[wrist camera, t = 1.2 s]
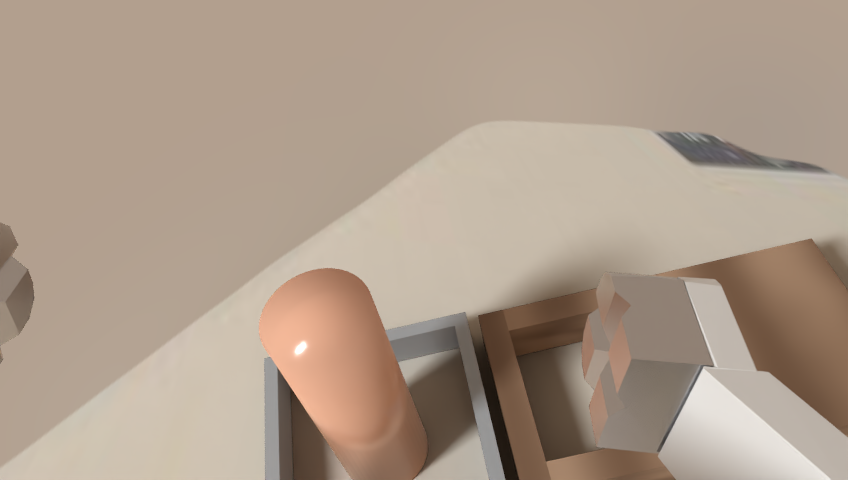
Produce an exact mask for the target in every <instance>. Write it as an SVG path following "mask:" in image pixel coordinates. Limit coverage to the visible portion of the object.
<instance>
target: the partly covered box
mask: <svg viewBox="0 0 848 480" xmlns="http://www.w3.org/2000/svg"><path fill="white" fill-rule="evenodd" d="M653 276H667V277H675V278H677V277H690V278H705V279H715V280H716V281H717V282H719V283H720V284H721V286H722V289H723V291H724V293H725V296H726V298H727V300H728V303H729V305H730V307H731V310H732V312H733V315H734V317H735V319H736V322H737V324H738V326H739V329H740V331H741V333H742V336H743V338H744V341H745V343H746V345H747V348H748V350H749V352H750V355H751V357H752V359H753V362H754V364H755V367H756V369H757V371H763V372H769V373H770V374H772V375H773V376H774V377H775V378H776V379H778V380H779V381H780V382H781V383H782V384H784V385H785V386H786V387H787V388H789V389H790V390H791V391H792V392H793V393H795V394H796V395H797V396H798V397H799V398H801V399H802V400H803V401H804V402H806V403H807V404H808V405H809V406H810V407H812V408H813V409H814V410H815V411H816V412H818V413H819V414H820V415H821V416H822V417H824V418H825V419H826V420H827V421H829V422H830V423H831V424H832V425H833V426H835V427H836V428H837V429H838V430H839V431H841V432H842V433H843V434H844V435H846V436H847V437H848V290H847V289H846V287H845V286H844V284H843V283H842V281H841V280H840V279H839V277H838V276H837V274H836V273H835V271H834V270H833V269H832V267H831V266H830V264H829V263H828V261H827V260H826V259H825V257H824V256H823V254H822V253H821V251H820V250H819V249H818V247H817V246H816V244H815V243H814V241H813V240H812V239H808V240H803V241H799V242H795V243H790V244H786V245H782V246H777V247H773V248H769V249H764V250H760V251H756V252H751V253H747V254H743V255H738V256H734V257H730V258H725V259H721V260H717V261H712V262H708V263H704V264H699V265H695V266H691V267H686V268H682V269H678V270H673V271H669V272H665V273H660V274H656V275H653ZM596 290H597V288H595V289H591V290H587V291H582V292H578V293H574V294H569V295H565V296H561V297H556V298H552V299H548V300H543V301H539V302H535V303H531V304H526V305H522V306H518V307H513V308H509V309H505V310H500V311H496V312H492V313H487V314H483V315H479V316H478V317H479V322H480V327H481V331H482V336H483V341H484V345H485V349H486V353H487V357H488V361H489V365H490V369H491V373H492V377H493V381H494V385H495V389H496V393H497V397H498V401H499V405H500V409H501V413H502V417H503V421H504V425H505V429H506V433H507V437H508V441H509V445H510V449H511V453H512V457H513V461H514V465H515V468H516V472H517V476H518V480H676V479H675V478H674V477H673V475H672V474H671V473H670V472H669V470H668V469H667V468H666V466H665V465H664V464H663V463H662V461H661V460H660V459H659V458H658V455H659V454H657V453H647V452H638V451H628V450H619V449H609V448H605V449H601V450H596V451H592V452H587V453H583V454H578V455H574V456H569V457H565V458H560V459H556V460H551V461H547V462H546V460H545V456H544V453H543V449H542V446H541V442H540V439H539V435H538V432H537V428H536V425H535V421H534V417H533V414H532V410H531V407H530V403H529V400H528V396H527V393H526V389H525V386H524V382H523V379H522V375H521V372H520V368H519V365H518V361H517V358H516V356H519V355H524V354H528V353H532V352H537V351H541V350H545V349H550V348H554V347H558V346H563V345H567V344H572V343H576V342H580V341H583V333H584V329H585V326H586V322H587V318H588V315H589V314H591V313H592V312H593V311H595V310H596V309H598V308H599V307H598V302H597V296H596Z"/></svg>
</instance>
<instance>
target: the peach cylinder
mask: <svg viewBox="0 0 848 480" xmlns="http://www.w3.org/2000/svg"><path fill="white" fill-rule="evenodd" d="M259 335H260V339H261V342H262V344H263V346H264V348H265V349H266V351H267V352H268V354H269V355H270V357H271V358H272V360H273V361H274V363H275V364H276V366H277V367H278V369H279V370H280V372H281V373H282V375H283V376H284V378H285V379H286V381H287V382H288V384H289V385H290V387H291V389H292V390H293V392H294V393H295V395H296V396H297V398H298V399H299V401H300V402H301V404H302V405H303V407H304V408H305V410H306V411H307V413H308V414H309V416H310V417H311V419H312V420H313V422H314V423H315V425H316V426H317V428H318V429H319V431H320V432H321V434H322V435H323V437H324V438H325V440H326V441H327V443H328V444H329V446H330V447H331V449H332V450H333V452H334V453H335V455H336V456H337V458H338V459H339V461H340V462H341V464H342V465H343V467H344V468H345V470H346V471H347V473H348V474H349V476H350V477H351V479H352V480H413V479H414V478H415V477H416V476H417V474H418V473H419V472H420V470H421V469H422V467H423V465H424V463H425V461H426V457H427V453H428V439H427V435H426V432H425V430H424V427H423V425H422V422H421V420H420V417H419V415H418V412H417V409H416V407H415V404H414V402H413V399H412V397H411V394H410V392H409V389H408V387H407V384H406V382H405V379H404V377H403V374H402V372H401V369H400V367H399V364H398V362H397V359H396V357H395V354H394V352H393V349H392V347H391V344H390V342H389V339H388V337H387V334H386V332H385V329H384V327H383V324H382V321H381V319H380V316H379V314H378V311H377V309H376V306H375V304H374V301H373V299H372V296H371V294H370V291H369V289H368V288H367V286H366V285H365V284H364V282H363V281H362V280H361V279H359V278H358V277H357V276H355V275H354V274H352V273H349V272H347V271H344V270H340V269H332V268H324V269H316V270H311V271H308V272H305V273H302V274H300V275H298V276H296V277H294V278H292V279H290V280H289V281H287V282H286V283H284V284H283V285H282V286H281V287H280V288H278V289H277V290H276V291H275V292H274V294H273V295H272V296H271V297H270V299H269V300H268V302H267V303H266V305H265V307H264V309H263V311H262V314H261V317H260V322H259Z"/></svg>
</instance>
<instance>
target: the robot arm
mask: <svg viewBox="0 0 848 480" xmlns="http://www.w3.org/2000/svg"><path fill="white" fill-rule="evenodd" d="M17 246H18V243H17V241H16V239H15V237H14V235H13V233H12V230H11V228H10V227H9V226H8V225H5V224H2V223H0V346H1V345H2V344H4V343H6V342H7V341H9V340H11V339H12V338H14V337H16V336H17V335H19V334H20V332H21V331H22V329H23V328H24V326H25V324H26V323H27V321H28V320H29V317H30V313H31V309H32V305H33V301H34V290H33V282H32V279H31V276H30V274H29V271H28V269H27V268H26V267H24V266H23V265H22V264H21V263H19V262H18V261H17V260H16V259H15V258H13V257H12V255H13V253H14V252H15V250H16V248H17ZM596 296H597V302H598V307H599V308H598V309H596V310H595V311H593V312H592V313H591V314H589V315H588V318H587V322H586V326H585V329H584V333H583V343H582V366H583V373H584V379H585V381H586V382H587V383H588V384H589V385H590V386H591V387H592V388H593V389H594V393H593V396H592V399H591V402H590V405H589V409H590V415H591V420H592V426H593V432H594V437H595V443H596V447H600V448H609V449H619V450H628V451H638V452H647V453H657V454H659V455H658V458H659V459H660V460H661V461H662V463H663V464H664V465H665V466H666V468H667V469H668V470H669V472H670V473H671V474H672V475H673V477H674V478H675V479H676V480H848V437H847V436H846V435H844V434H843V433H842V432H841V431H839V430H838V429H837V428H836V427H835V426H833V425H832V424H831V423H830V422H829V421H827V420H826V419H825V418H824V417H822V416H821V415H820V414H819V413H818V412H816V411H815V410H814V409H813V408H812V407H810V406H809V405H808V404H807V403H806V402H804V401H803V400H802V399H801V398H799V397H798V396H797V395H796V394H795V393H793V392H792V391H791V390H790V389H789V388H787V387H786V386H785V385H784V384H782V383H781V382H780V381H779V380H778V379H776V378H775V377H774V376H773V375H772V374H770V373H769V372H763V371H757V369H756V367H755V364H754V362H753V359H752V357H751V355H750V352H749V350H748V348H747V345H746V343H745V341H744V338H743V336H742V333H741V331H740V329H739V326H738V324H737V322H736V319H735V317H734V315H733V312H732V310H731V307H730V305H729V303H728V300H727V298H726V296H725V293H724V291H723V289H722V286H721V284H720V283H719V282H717V281H716V280H715V279H705V278H690V277H677V278H675V277H667V276H653V275H640V274H627V273H613V272H605V273H604V274H603V276H602V277H601V279H600V281H599V284H598V287H597V290H596ZM2 360H3V357H2V353H1V349H0V363H1V362H2Z"/></svg>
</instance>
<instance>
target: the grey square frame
mask: <svg viewBox="0 0 848 480" xmlns="http://www.w3.org/2000/svg"><path fill="white" fill-rule="evenodd" d="M385 332H386V334H387V337H388V339H389V342H390V344H391V347H392V349H393V352H394V354H395V357H396V359H397V362H399V361H403V360H407V359H412V358H416V357H420V356H425V355H429V354H433V353H438V352H442V351H446V350H451V349H455V348H460V351H461V356H462V360H463V365H464V369H465V374H466V378H467V383H468V387H469V391H470V396H471V400H472V405H473V409H474V414H475V418H476V423H477V427H478V432H479V436H480V441H481V445H482V450H483V454H484V459H485V463H486V467H487V472H488V476H489V480H505V476H504V472H503V468H502V463H501V459H500V455H499V451H498V447H497V443H496V438H495V434H494V430H493V426H492V422H491V418H490V413H489V409H488V405H487V401H486V397H485V392H484V388H483V384H482V380H481V376H480V372H479V367H478V363H477V359H476V355H475V351H474V347H473V342H472V338H471V334H470V330H469V326H468V321H467V317H466V313H465V312H463V313H459V314H454V315H450V316H446V317H441V318H437V319H433V320H428V321H424V322H420V323H415V324H411V325H407V326H403V327H398V328H394V329H390V330H385ZM264 372H265V480H293V451H292V421H291V392H290V385H289V384H288V382H287V381H286V379H285V378H284V376H283V375H282V373H281V372H280V370H279V369H278V367H277V366H276V364H275V363H274V361H273V360H272V358H271V357H268V358H264Z"/></svg>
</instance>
